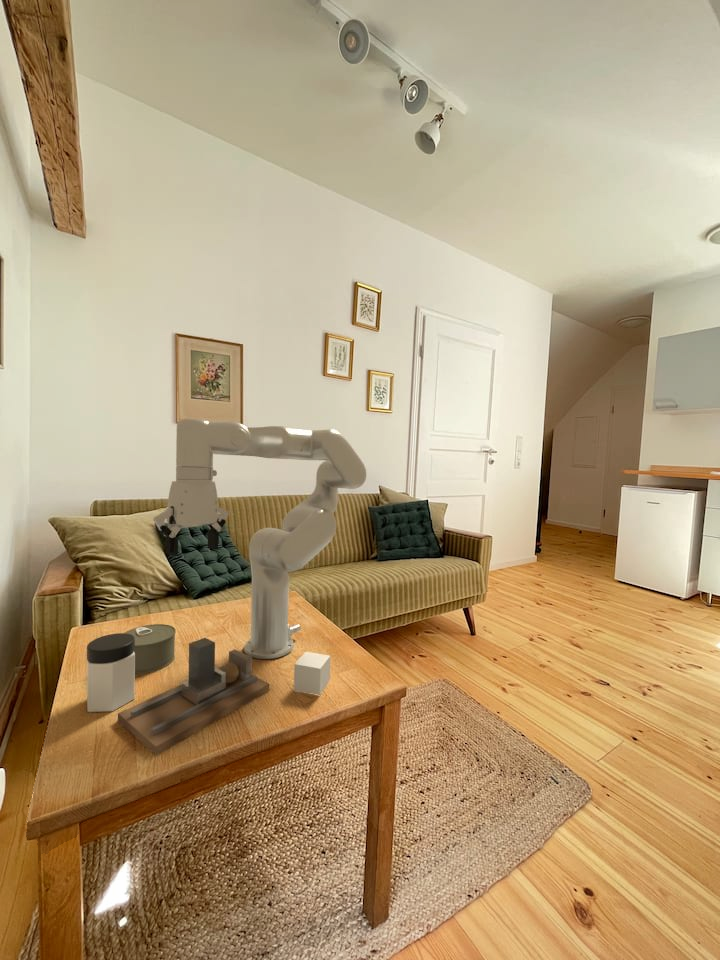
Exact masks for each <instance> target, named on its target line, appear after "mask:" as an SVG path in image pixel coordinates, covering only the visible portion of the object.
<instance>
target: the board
mask: <svg viewBox="0 0 720 960" xmlns="http://www.w3.org/2000/svg"><path fill="white" fill-rule="evenodd" d="M217 668H218V669H220V670H221V671H223V672H225V673H226V690H225V691H223V692H221V693H219V694H217V695H215V696H213V697H211V698H209V699H207V700H206V701H204V702H202V703H200V704H198V705H195V704H194V703H193V702H191V701H190V700H188V699H187V698H185V697H184V696H182V695H181V684H180V685H177V686H175V687H173V688H171V689H167V691H164V692H162V693H159V694H158V695H155V696H153V697H150V698H148V699H146V700H144V701H141V702H140V703H137V704H135V705H133V706H131V707H128V708H126V709H124V710H122V711H119V712H117V722H118V723H119V724H121V726H122V727H123V728H125V729H126V730H127V732H129V734H131V735H132V736H134V738H136V739H137V740H138V741H139V742H140V743H141V744H143V745H144V746H145V748H146V749H148V750H149V751H150V752H151V753H153V754H154V756H157V755H159V754H160V753H162V752H164V751H166V750H167V749H168V750H169V748H171V747H173V746H175V745H176V744H178V743H180V742H183V740H186V739H187V738H189V737H190V736H192V735H195V734H196V733H197V732H200V731H201V730H204V728H206V727H208V726H210V725H211V724H213V723H215V722H217V721H218V720H221V719H222V718H223V717H225V716H227V715H229V714H231V713H232V712H235V711H236V710H237V709H240V708H242V707H243V706H245V705H247V704H248V703H250V702H251V701H254V700H255V699H257V698H258V697H261V696H262V695H264V694H266V693H267V692H269V691H270V683H269V682H268V681H265V680H263V679H261V678H260V677H258V676H257V675H253V673H252V672H253V669H252V668H253V657H251V656H249V655H247V654H246V653H245V652H244V653H243V652H241V651H239V650H237V649H232V650H230V651H229V652H228V662H227V663H225V664H223V665H222V666H219V667H217Z"/></svg>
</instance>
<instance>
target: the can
mask: <svg viewBox="0 0 720 960" xmlns="http://www.w3.org/2000/svg"><path fill="white" fill-rule="evenodd" d="M176 632H177V630H176V628H175V627H174V626H172V625H169V624H160V623H159V624H158V623H157V624H156V623H155V624H147V625H142V626H137V627H134V628H131V629H129V630H127V631H125V632H124V633H126V634H131V635H133V636H134V638H135V650H134V653H135V676H136V675H146V674H149V673H154V672H155V673H156V671H160V670H162V669H164V668H166V667H168V666H169V665H171V664H172V663H173V662H174V660H175V644H176V643H175V642H176V641H175V638H176V634H177V633H176Z"/></svg>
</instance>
